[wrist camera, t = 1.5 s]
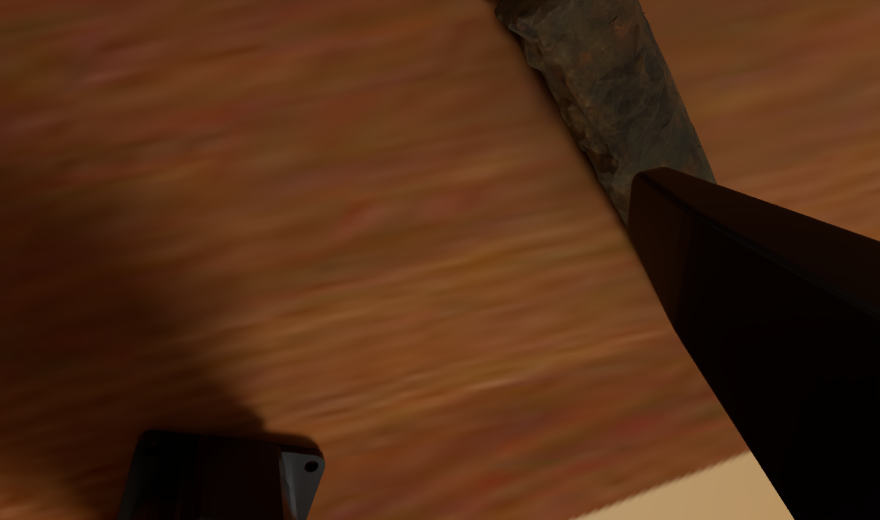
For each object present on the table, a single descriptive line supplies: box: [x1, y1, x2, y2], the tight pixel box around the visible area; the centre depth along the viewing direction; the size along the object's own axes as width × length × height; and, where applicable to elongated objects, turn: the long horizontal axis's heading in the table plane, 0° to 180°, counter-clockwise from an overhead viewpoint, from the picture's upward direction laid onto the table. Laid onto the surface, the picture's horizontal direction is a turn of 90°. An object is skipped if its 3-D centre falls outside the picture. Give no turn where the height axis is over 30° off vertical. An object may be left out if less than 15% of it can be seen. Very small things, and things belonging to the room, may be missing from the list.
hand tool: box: [495, 0, 717, 229], centre depth 22 cm, size 19×4×5 cm, turn 31°
